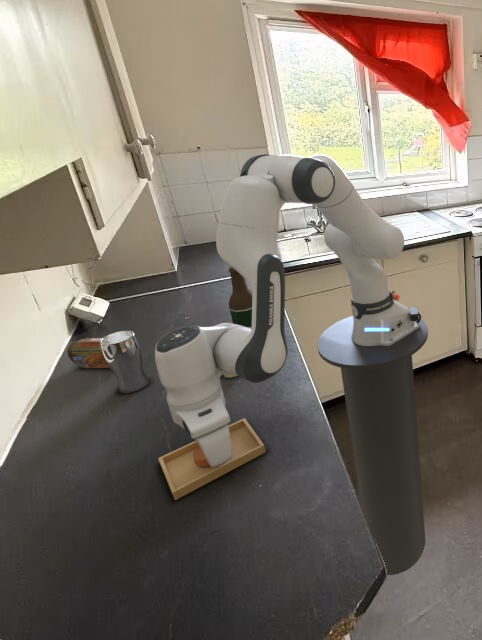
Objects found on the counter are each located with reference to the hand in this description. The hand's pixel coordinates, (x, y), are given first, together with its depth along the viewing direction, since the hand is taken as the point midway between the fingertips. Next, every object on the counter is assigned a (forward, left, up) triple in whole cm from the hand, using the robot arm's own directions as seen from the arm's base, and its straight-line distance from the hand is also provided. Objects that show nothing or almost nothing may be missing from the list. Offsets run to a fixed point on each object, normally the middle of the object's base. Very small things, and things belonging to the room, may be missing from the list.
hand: (213, 456), depth 90 cm
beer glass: (+7, -43, -1) cm, 44 cm away
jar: (-13, -31, -1) cm, 34 cm away
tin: (+11, -61, -1) cm, 62 cm away
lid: (0, 0, +2) cm, 2 cm away
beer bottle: (-23, -49, -1) cm, 54 cm away
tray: (0, 0, -1) cm, 1 cm away
